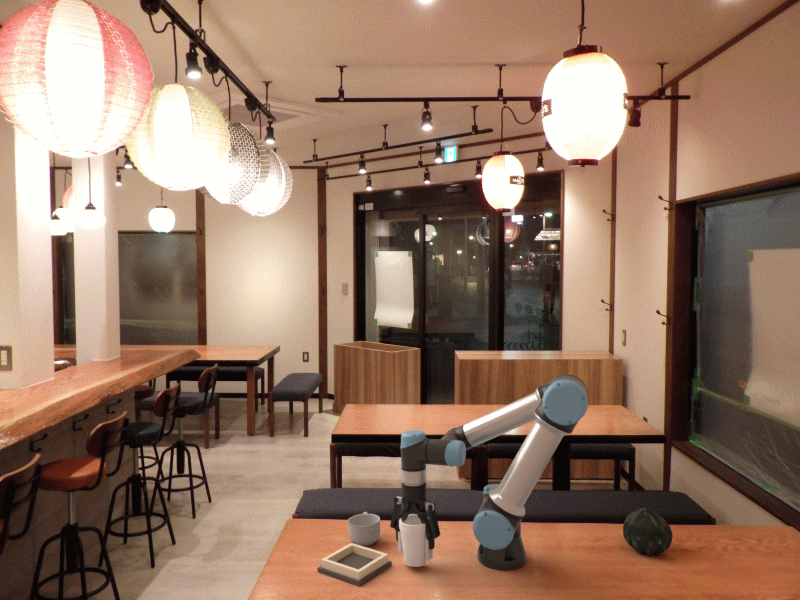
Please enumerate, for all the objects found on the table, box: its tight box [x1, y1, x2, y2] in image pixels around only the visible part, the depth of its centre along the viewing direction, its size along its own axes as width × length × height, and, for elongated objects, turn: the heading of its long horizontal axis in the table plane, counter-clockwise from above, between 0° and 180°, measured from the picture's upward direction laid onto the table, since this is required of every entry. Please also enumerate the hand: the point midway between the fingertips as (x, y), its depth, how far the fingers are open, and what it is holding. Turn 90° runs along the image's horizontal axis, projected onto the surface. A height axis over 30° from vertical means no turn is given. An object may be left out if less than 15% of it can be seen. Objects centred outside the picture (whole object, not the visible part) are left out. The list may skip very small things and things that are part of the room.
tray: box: [317, 542, 393, 587], centre depth 189 cm, size 16×16×4 cm
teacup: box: [347, 511, 381, 547], centre depth 209 cm, size 14×11×8 cm
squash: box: [622, 507, 674, 556], centre depth 202 cm, size 14×15×15 cm
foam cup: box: [399, 513, 429, 568], centre depth 190 cm, size 10×9×13 cm
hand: (415, 555), depth 190 cm, fingers closed on foam cup, 9 cm apart
